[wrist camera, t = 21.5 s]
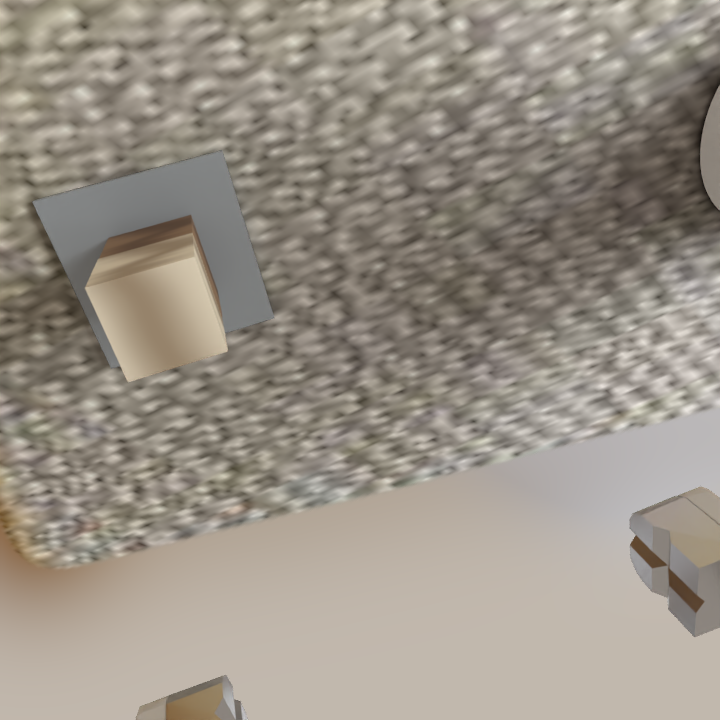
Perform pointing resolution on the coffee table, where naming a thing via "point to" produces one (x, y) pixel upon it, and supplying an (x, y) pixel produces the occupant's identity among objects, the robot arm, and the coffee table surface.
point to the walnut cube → (157, 235)
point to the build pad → (154, 206)
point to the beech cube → (157, 307)
